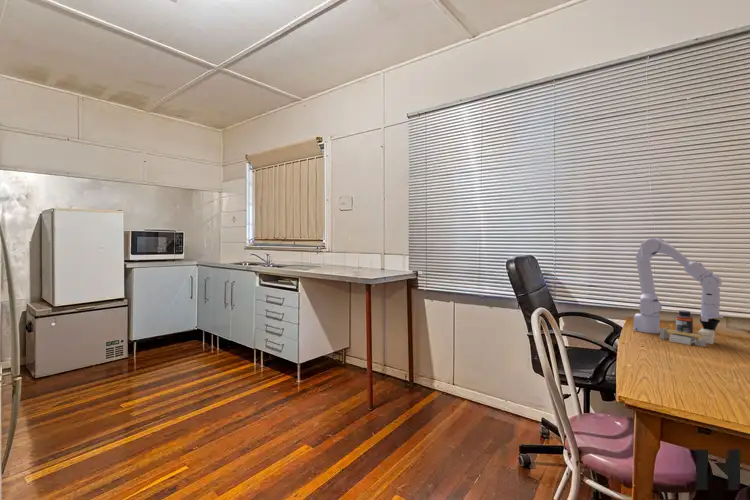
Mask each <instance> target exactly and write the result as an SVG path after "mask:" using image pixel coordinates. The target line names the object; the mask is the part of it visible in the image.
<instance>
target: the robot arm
mask: <svg viewBox="0 0 750 500" xmlns="http://www.w3.org/2000/svg"><path fill="white" fill-rule="evenodd" d="M657 254H663V255H666V256H667V255H668V257H670V258H671V259H673V260H674V261H676V262H677V263H678V264H680V265H681V266H683V267H684V272H685V273H687V275H689V276H690V277H692V278H693V279H694V280H695V281H697V282H699V284H700V286H701V287H702V290H701V301H700V317H701V318H699V322H700V323H701V325H702V328H703V329H710V330H714V333H715V332H716V329H717V326H718V325H719V323H720V322H721V320H720V319H723V318H724V316H723V315H720V303H721V292H720V291H721V289H720V287H721V286H722V283H723V280H722V278H721V277H719V275H717V274H714V272H713V271H711V270H709V269H707V268H706V267H704V266H703V265H704V263H702V262H698V261H691V260H690V259H689V258H687V257H686V256H685V255H684V254H682V253H681V252H680V251H679V250H678V249H676V248H675V247H674V246H673V245H672V244H671V243H669V242H667V241H665V240H664V239H662V238H660V237H655V238H653V237H649V238H646V239H645V240H644V241H643V242H641V243H640V247H639V248H638V250H637V253H636V255H635V259H636V260H635V261H636V265H637V266H636V267H637V273H638V278H639V285H640V292H641V295H640V298H639V300H640V302H639V305H638V311H640V313H639V312H638V313H635V314H634V317H633V328H632V330H633V332H635V331H636V332H641V333H645V334H660V323H661V322H660V321H661V319H660V318H661V315H660V312H661V310H662V308H663V307H662V304H661V302H660V301H659V297H658V295H657V294H656V290H655V285H654V284H655V283H654V277H653V272H652V266H651V259H652V258H654V256H655V255H657Z"/></svg>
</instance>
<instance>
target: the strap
mask: <svg viewBox="0 0 750 500" xmlns="http://www.w3.org/2000/svg"><path fill="white" fill-rule="evenodd" d="M665 332H668V334H672V333H674V334H680V335H686V336H692V337H696V338H703V337H704V335H701V334H700V333H687V332H681V331H676V329H674V330H673V329H665Z"/></svg>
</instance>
